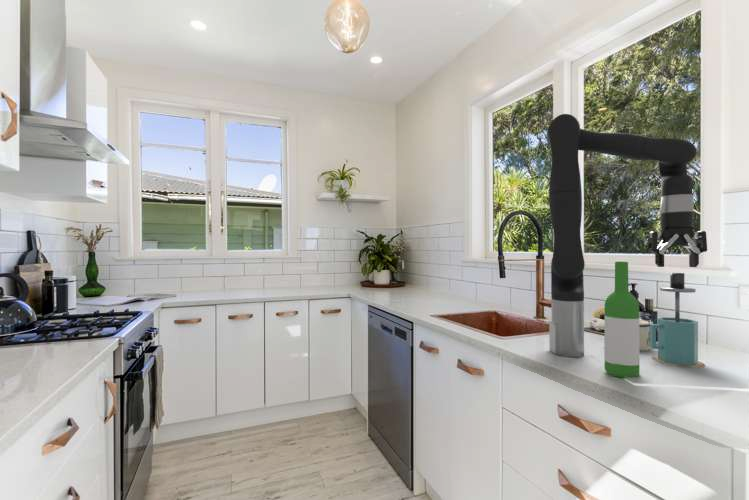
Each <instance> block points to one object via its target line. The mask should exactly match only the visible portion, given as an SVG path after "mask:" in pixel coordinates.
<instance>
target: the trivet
mask: <svg viewBox="0 0 749 500" xmlns="http://www.w3.org/2000/svg"><path fill="white" fill-rule="evenodd" d="M651 359H652V361H653V360H654V361H656V362H658V363H660V364H664V365H668V366H673V367H680V368H689V369H690V368H691V369H700V368H704V367H706V364H705V363H703V362H701V361H699V360H698V364H696V365H695V366H685V365H676V364H671V363H666V362H664V361H662V360H660V359H658V354H656V355H652V356H651Z"/></svg>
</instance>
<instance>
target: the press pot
mask: <svg viewBox="0 0 749 500" xmlns="http://www.w3.org/2000/svg"><path fill="white" fill-rule="evenodd" d="M666 320H675V317H666V316H663V317H662V316H661V317H658V318H657V323H649V324H650V326H649V349H652V350H657V355H658V359H660V360H662V361H664V362H666V363H671V364H676V365H685V366H695V365H696V364H698V361H699V332H698V331H699V321H697V320H693V319H689V318H681V317H680V321H685V322H673V321H666ZM687 322H689V323H687Z"/></svg>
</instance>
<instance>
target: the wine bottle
mask: <svg viewBox="0 0 749 500" xmlns="http://www.w3.org/2000/svg"><path fill="white" fill-rule="evenodd" d="M639 318H640V304H639V301H638V299H637V298H636V297H635V295H633V294H632V293H630V291H629V262H628V261H615V262H614V291H613V292H612V293H610V294H609V295H608V296H607V297H606V299H605V302H604V343H603V344H604V347H603V348H604V349H603V350H604V351H603V352H604V356H603V357H604V370H605V372H606V373H607V374H609V375H610V376H614V377H617V378H620V379H627V378H637V377H639V376H640V364H641V363H640V358H641V357H640V351H641V350H640V346H639Z"/></svg>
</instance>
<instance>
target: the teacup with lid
mask: <svg viewBox="0 0 749 500" xmlns="http://www.w3.org/2000/svg"><path fill="white" fill-rule="evenodd" d="M650 324H651V323H650V322H649V321H647V320H644V319H642V318H641V317H639V346H640V351H649V350H650Z"/></svg>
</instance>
